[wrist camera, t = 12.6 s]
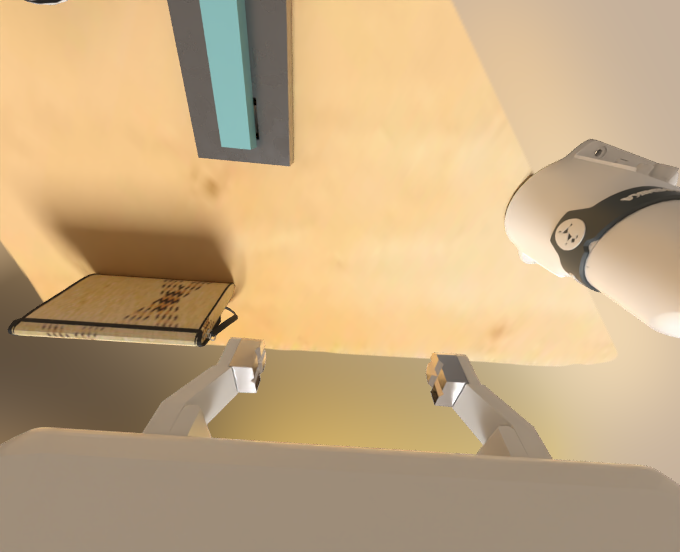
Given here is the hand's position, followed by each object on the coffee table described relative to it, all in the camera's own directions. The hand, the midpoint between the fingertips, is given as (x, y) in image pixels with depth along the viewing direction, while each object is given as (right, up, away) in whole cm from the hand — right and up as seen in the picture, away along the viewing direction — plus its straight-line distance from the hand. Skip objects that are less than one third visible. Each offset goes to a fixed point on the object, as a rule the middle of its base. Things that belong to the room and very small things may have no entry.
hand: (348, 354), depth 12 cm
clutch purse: (-33, +1, +37) cm, 50 cm away
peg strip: (-12, +30, +17) cm, 37 cm away
